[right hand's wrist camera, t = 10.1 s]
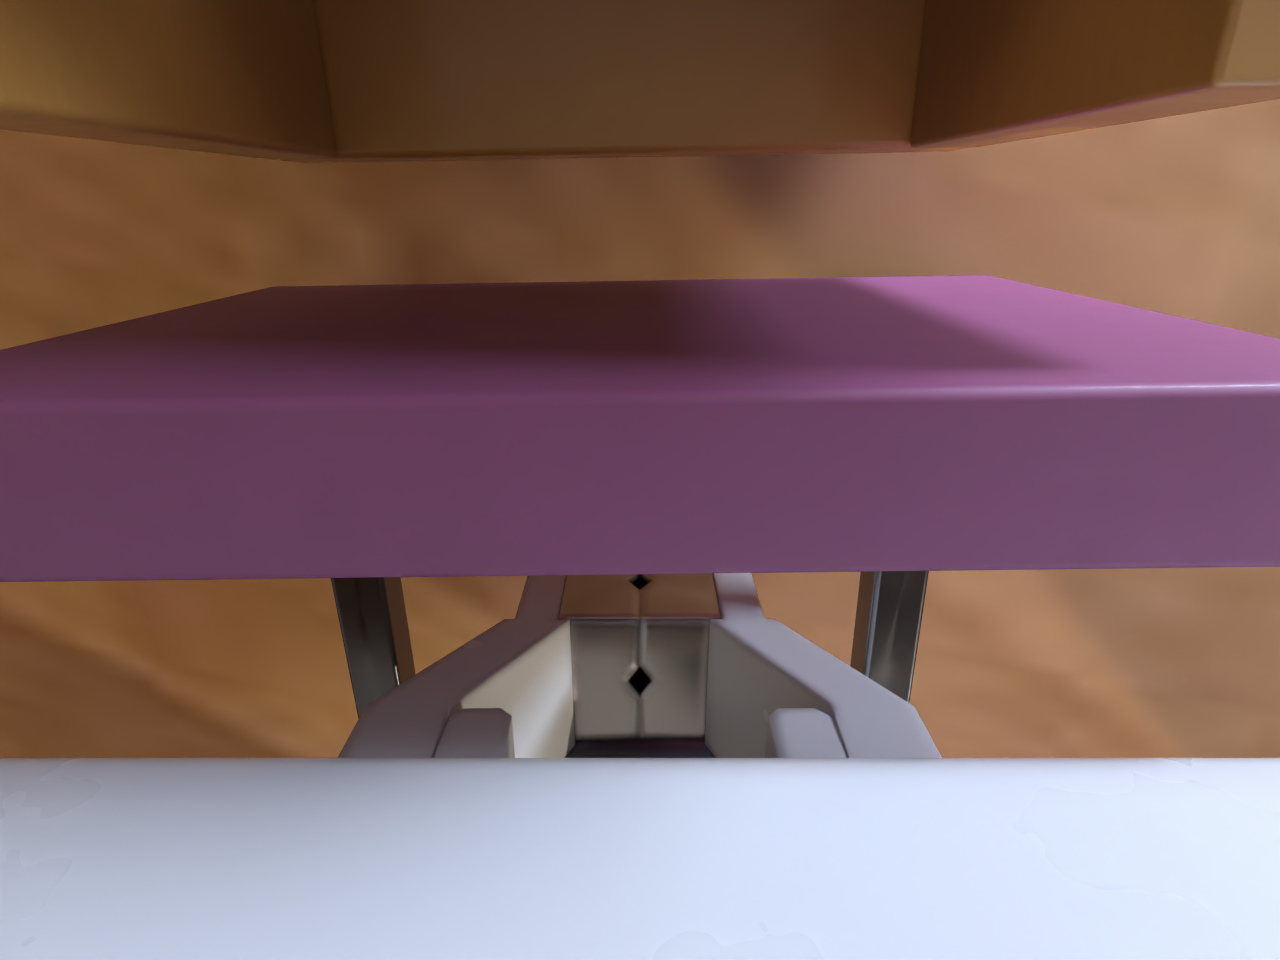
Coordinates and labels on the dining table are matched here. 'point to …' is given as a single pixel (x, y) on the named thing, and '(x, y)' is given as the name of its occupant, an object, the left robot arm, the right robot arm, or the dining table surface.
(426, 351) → the drawer
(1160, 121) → the dining table surface
